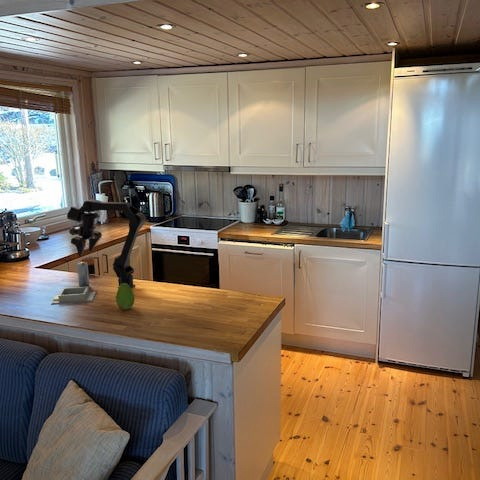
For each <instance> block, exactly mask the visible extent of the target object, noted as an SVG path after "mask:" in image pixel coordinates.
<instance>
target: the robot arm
mask: <svg viewBox="0 0 480 480" xmlns="http://www.w3.org/2000/svg"><path fill="white" fill-rule="evenodd" d="M98 211H113V212H115V211H116V212H117V211H118V212H120V211H121V212H122V213H124V215H125V217H126V219H127V220H128V221H129V222H128V233H127V236H126V239H125V241H124V244H123V247H122V250H121V253H120V255H118V256H116V257H114V261H113V263H112V270H113V271H114V273H115V275H116V277H117V278H118V279H117V282H118V286H117V289H118V288H119V286H120V285H121V284H122V283H126V284H128V285H129V286H130V287H131V289H132V288H134V287H135V286H136V285H135V284H134V276H133V274H134V272H135V269H134V267H132V266H131V258H130V257H131V254H132V252H133V248H134V246H135V243H136V240H137V238H138V234H139V232H140V230H142V228H143V226H144V224H145V223H146V221H147V217H146V215H145V214H144V213H143V212H141V211H140V210H139V209H138V208H136V207H134V206H133V205H132V204H131V203H130V202H128V201H126V202H119V201H118V202H116V201H115V202H114V201H109V202H108V201H106V202H105V201H101V200H98V199H94V198H93V199H89V200H85V201H83V203H82V206H81V207H80V208H78V207H76V206H70V209H69V210H68V212H67V214H66V218H67V220H69V221H73V222H77V223H81V222H82V223H81V225H80V226H77V227H76V226H74V227H70V228H69V231H68V233H69V234H70V235H71V236H75V235H77V236H75V237H73V238H71V239H70V244H71V245H74V246H75V248H76V251H77V254H78V256H79V257H81V256H82V255H83V253H84V251H85V249H86V246H87V245H86V244H87V241H88V251H89V252H92V251H93V249H94V248H95V246H96V245H97V243H98V242H99V241H100V239H102V236H103V234H102V232H101V231H98V230H95V229H96V228H97V227H96V226H95V221H96V219H98V218H100V217H101V215H99V214H98V213H97V212H98Z"/></svg>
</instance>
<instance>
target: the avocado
mask: <svg viewBox="0 0 480 480" xmlns="http://www.w3.org/2000/svg"><path fill="white" fill-rule="evenodd" d="M118 287H119V288H118ZM118 287H117V291H116V295H115V302H116V306H117V307H118V308H119V309H121V310H123V311H125V310H129V309H130V308H132V307H133V306H134V303H135V293H134V291H133V289H132V288H131V287H130V286H129V285H128V284H126V283H122V284H121V285H120V286H119V285H118Z"/></svg>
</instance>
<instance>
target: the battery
mask: <svg viewBox="0 0 480 480" xmlns="http://www.w3.org/2000/svg"><path fill="white" fill-rule="evenodd" d="M80 262H87V264H88V275H89V276H90V275H95V274H96V268H95V259H94V257H93V255H88V256H82V257H81V258H80Z"/></svg>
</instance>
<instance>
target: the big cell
mask: <svg viewBox="0 0 480 480" xmlns="http://www.w3.org/2000/svg"><path fill="white" fill-rule="evenodd" d="M76 267H77V277H78V287H88V289H89V288H90V277H89V276H90V275H88V264H87V262H81V261H80V262H78V263H76Z"/></svg>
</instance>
